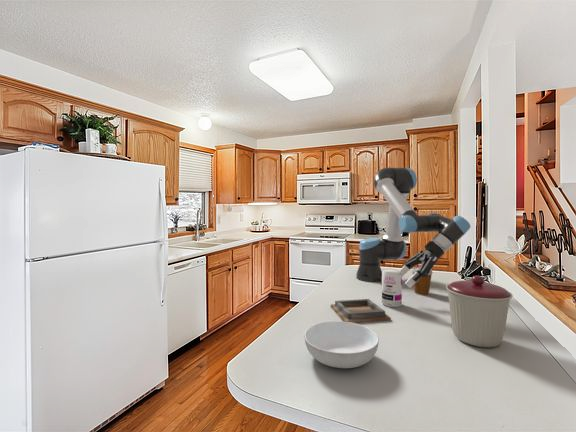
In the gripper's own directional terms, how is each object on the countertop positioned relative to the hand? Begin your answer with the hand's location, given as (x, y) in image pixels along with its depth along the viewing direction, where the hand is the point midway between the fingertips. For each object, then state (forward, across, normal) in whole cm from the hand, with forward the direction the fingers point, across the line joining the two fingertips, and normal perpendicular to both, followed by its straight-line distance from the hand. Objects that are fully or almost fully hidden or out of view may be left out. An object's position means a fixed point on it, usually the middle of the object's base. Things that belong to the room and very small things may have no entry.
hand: (401, 281), depth 129 cm
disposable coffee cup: (-3, +19, -19) cm, 27 cm away
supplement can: (+10, +1, -5) cm, 12 cm away
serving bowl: (+30, -45, +15) cm, 56 cm away
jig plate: (+22, -9, +7) cm, 24 cm away
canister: (-2, -32, -18) cm, 36 cm away
